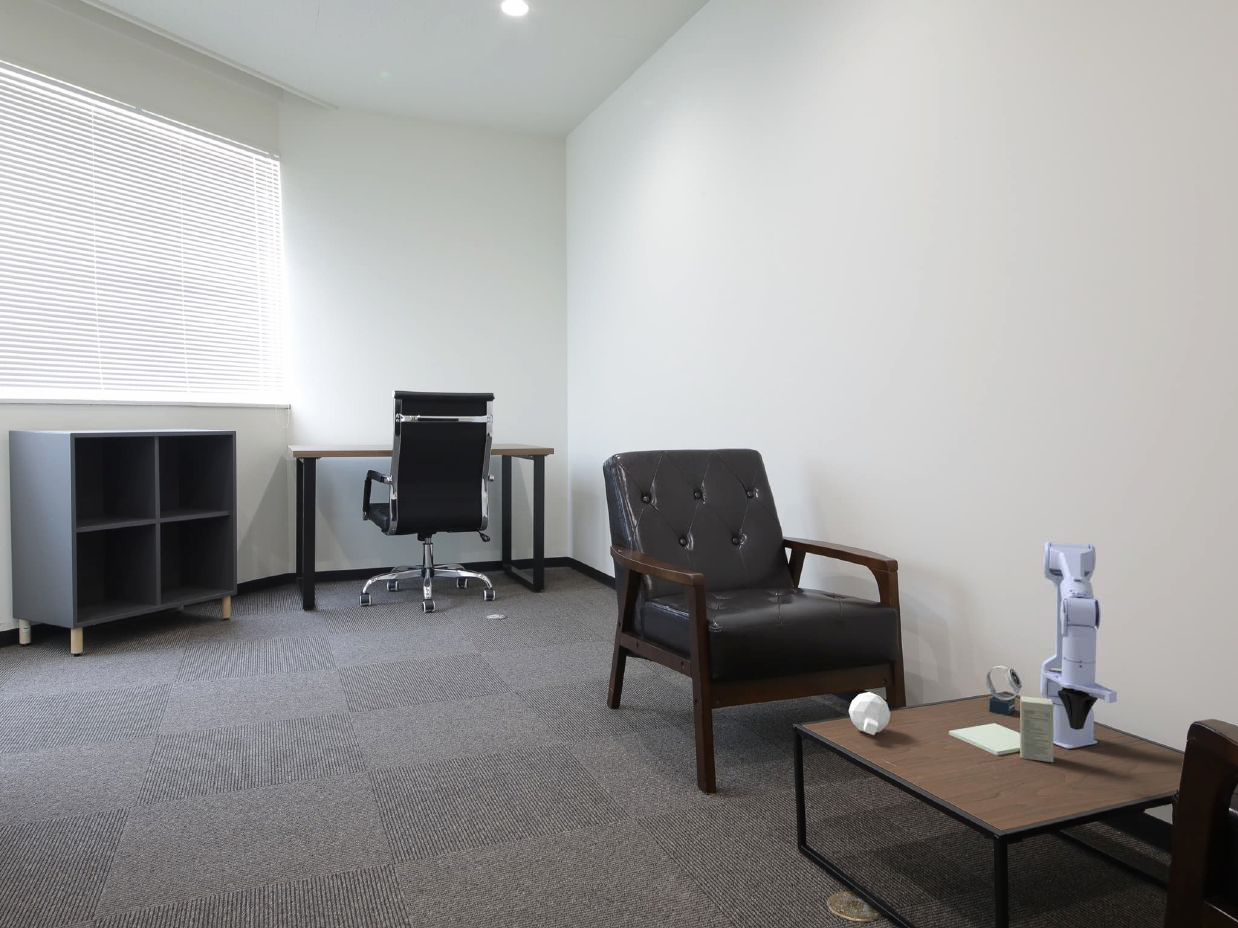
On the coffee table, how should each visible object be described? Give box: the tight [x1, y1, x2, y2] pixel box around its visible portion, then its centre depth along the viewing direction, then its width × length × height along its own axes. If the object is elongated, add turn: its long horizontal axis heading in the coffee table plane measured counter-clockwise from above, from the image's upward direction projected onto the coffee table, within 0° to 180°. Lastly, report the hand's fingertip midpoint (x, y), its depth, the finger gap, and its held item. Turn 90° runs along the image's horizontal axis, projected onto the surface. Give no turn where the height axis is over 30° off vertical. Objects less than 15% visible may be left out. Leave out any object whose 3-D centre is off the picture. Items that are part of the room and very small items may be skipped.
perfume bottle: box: [848, 691, 891, 736], centre depth 182 cm, size 9×9×12 cm
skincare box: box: [1019, 695, 1054, 763], centre depth 170 cm, size 6×4×12 cm
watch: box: [984, 665, 1023, 717], centre depth 199 cm, size 6×8×11 cm
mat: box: [948, 722, 1020, 756], centre depth 179 cm, size 14×13×1 cm
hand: (1076, 728), depth 158 cm, fingers closed
